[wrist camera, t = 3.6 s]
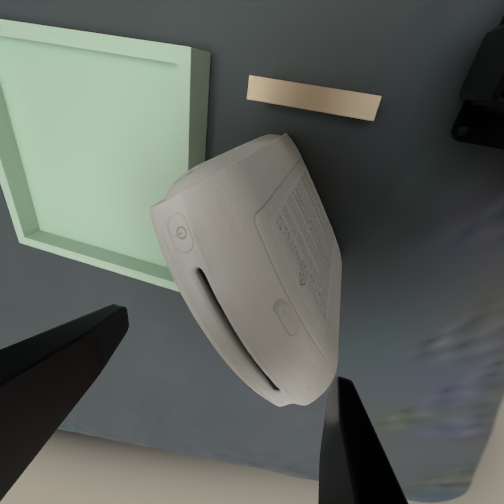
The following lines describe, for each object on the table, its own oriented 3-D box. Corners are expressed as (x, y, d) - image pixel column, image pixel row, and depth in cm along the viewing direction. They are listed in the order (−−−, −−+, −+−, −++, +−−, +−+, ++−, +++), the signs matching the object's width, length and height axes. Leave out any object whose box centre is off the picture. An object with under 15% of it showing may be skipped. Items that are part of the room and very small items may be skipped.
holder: (375, 95, 15) (381, 96, 12) (310, 301, 23) (305, 332, 20) (266, 78, 16) (249, 75, 14) (238, 280, 24) (223, 306, 21)
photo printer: (230, 150, 19) (89, 221, 9) (289, 118, 17) (200, 158, 7) (294, 277, 22) (247, 440, 12) (350, 261, 20) (353, 439, 10)
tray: (210, 52, 17) (190, 47, 15) (199, 276, 25) (185, 293, 23) (-11, 19, 19) (-55, 10, 17) (44, 231, 28) (19, 242, 25)
